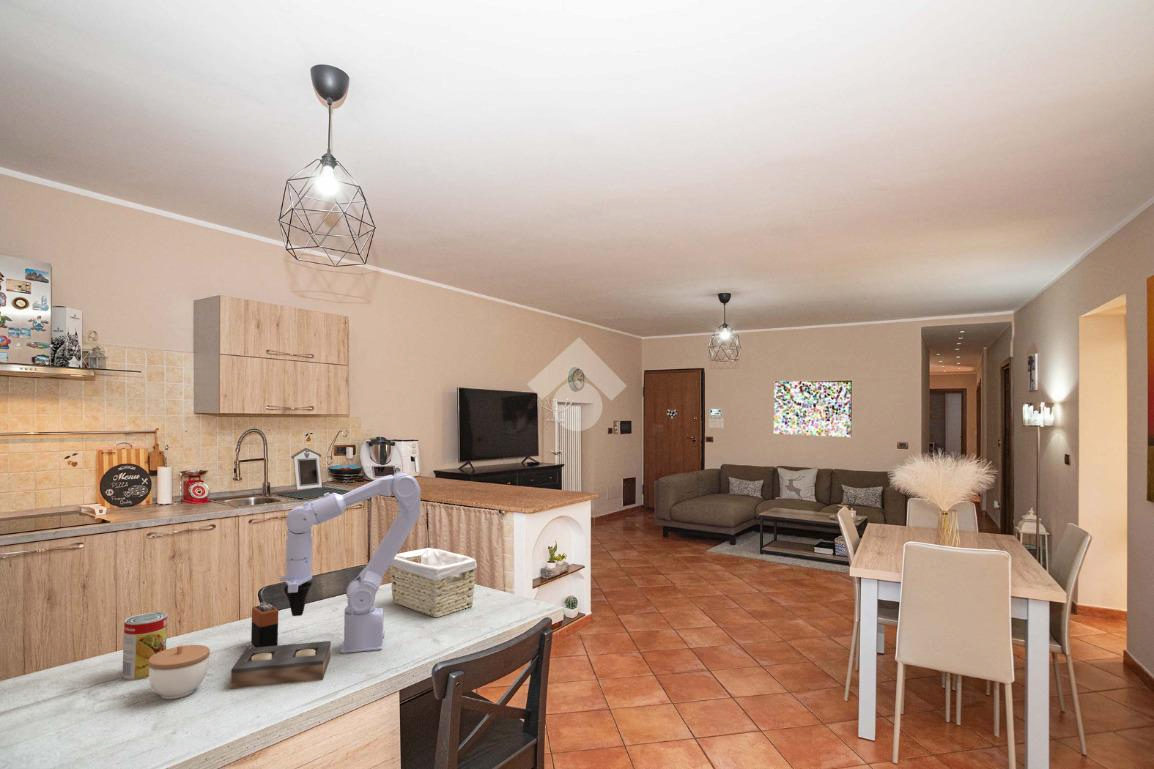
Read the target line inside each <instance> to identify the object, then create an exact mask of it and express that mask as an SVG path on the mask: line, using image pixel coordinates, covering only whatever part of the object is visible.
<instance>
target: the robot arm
mask: <svg viewBox="0 0 1154 769" xmlns="http://www.w3.org/2000/svg"><path fill="white" fill-rule="evenodd" d="M421 492H422V491H421V487H420V485H419V482H418V481H417V479H416V477H414V476H413V475H410V473H408V472H405V471H397V472H396V473H394V474H388V475H384V476H382V477H380V478H376V479H375V480H372V481H370V482H368V483H366V484H364V485H361V486H359V487H357V488H355V489H353V490H350V491H348V492H345V493H344V494H339V493H337V492H332V493H330V492H326V493H323V496H322V497H320V498H318V499H316V500H313V501H310V502H309V501H306V502H303V505H304V506H301V505H300V506H295V507H294V508H292V509H291V510H290V511H289V512H288V514H287V516H286V517H287V518H286V522H285V524H286V527H287V531H286V536H287V538H286V541H285V574H284V575H281V576H280V578H279V581H280V582H285V583H286V585H285V586H284V587H283V591H284V594H285V595H286V597H287V600H288V602H289V607H290V612H291V616H292V617H301V616H303V613H304V610H305V605H306V601H307V597H308V593H309V591H310V589H311V586H312V585H313V582H312V581H310V580H312V579H313V574H312V568H313V567H312V566H313V565H312V564H313V563H312V562H313V560H312V559H313V536H312V527H313V526H314V525H320V524H322V523H325V522H327V521H330V520H333V519H334V518H337V517H340V516H342V515H343V514H344V512H345V510H346V509H347V507H350V506H353V505H355V504H358V503H360V502H363V501H365V500H368V499H370V498H373V497H376V496H385V497H389V498H390V497H392V496H394V498H395V501H396V504H397V507H398V510H399V512H398V514H397V516H396V518H395V519H394V520H393V522H392V524H391V526H390V527H389V529H388V530H387V532H386V534H385V535H384V537H383V539H382V540H381V542H380V543H379V545H378V546H377V548H376V550H375V551H374V553H373V554H372V557H371V558H370V560H369V561H368V563H367V564H366V566H365V567H364V568H363V569H362V570H361V571H360V573H359V574H358V576H357V577H355V579H353V580H351V581H350V582H349V583H348V584H347V586H346V590H345V594H346V595H345V596H346V598H347V606H346V607H345V608H344V618H343V619H344V624H343V625H344V626H343V634H344V635H343V641H342V646H341V649H340V654H347V653H357V652H368V651H379V650H382V649H383V644H384V639H385V631H384V623H385V622H384V617H385V616H384V615H385V611H384V608H382V607H381V608H380V607H376V604H375V601H376V594H377V592H378V590H379V588H380V586H381V584H382V583H381V582H382V579H383V577H384V576H385V574H386V572H387V571H388V569H389V568H390V564H391V563H392V561H393V559H394V558H395V556H396V554H399V551H400V549H401V548H402V546H403V544H404V542H406V539H407V538H408V536H409V534H410V533H411V531H412V530H413V528H414V526H415V525H416V523H417V521H418V519H419V518H420V516H421V494H422V493H421Z"/></svg>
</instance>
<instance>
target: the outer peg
mask: <svg viewBox="0 0 1154 769" xmlns="http://www.w3.org/2000/svg"><path fill="white" fill-rule="evenodd" d="M270 659H272V654H271V653H260V654H256V655H254V656H252V658H251V661H259V660H270Z"/></svg>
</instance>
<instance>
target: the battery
mask: <svg viewBox="0 0 1154 769" xmlns="http://www.w3.org/2000/svg"><path fill="white" fill-rule="evenodd" d="M250 632H251V633H250V634H251V636H250V637H251V638H250V639H251V640H250V641H251V644H252V646H254V648H255V647H266V646H278V642H279V640H278V639H279V609H277V608H276V607H274V605H272V604H270V603H267V602H260V603H259V605H257V606H252V608H251V631H250Z"/></svg>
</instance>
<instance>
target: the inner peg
mask: <svg viewBox="0 0 1154 769" xmlns="http://www.w3.org/2000/svg"><path fill="white" fill-rule="evenodd" d="M313 655H315V650H314V649H304V650H300V651H298V652H297V653H296V657H302V656H313Z"/></svg>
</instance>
